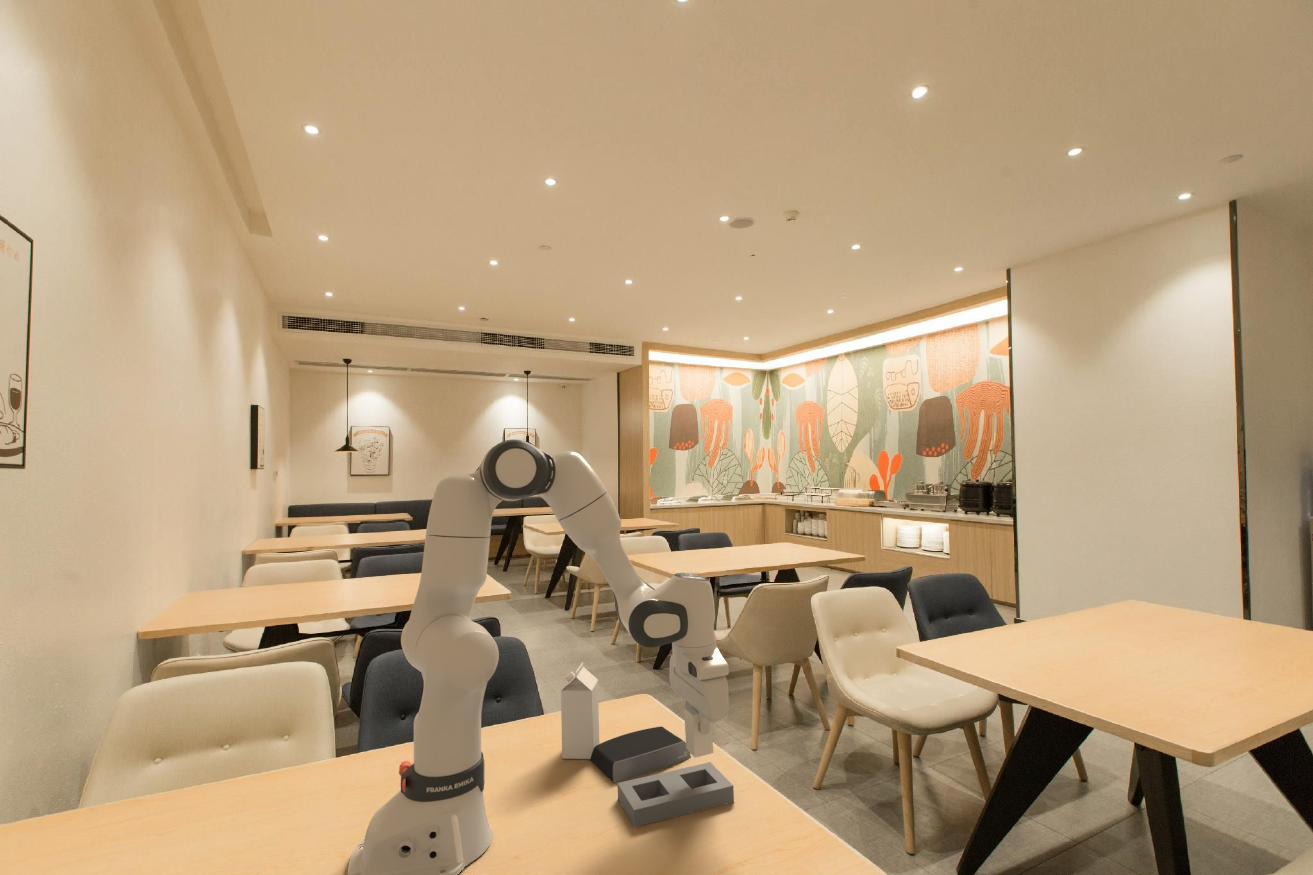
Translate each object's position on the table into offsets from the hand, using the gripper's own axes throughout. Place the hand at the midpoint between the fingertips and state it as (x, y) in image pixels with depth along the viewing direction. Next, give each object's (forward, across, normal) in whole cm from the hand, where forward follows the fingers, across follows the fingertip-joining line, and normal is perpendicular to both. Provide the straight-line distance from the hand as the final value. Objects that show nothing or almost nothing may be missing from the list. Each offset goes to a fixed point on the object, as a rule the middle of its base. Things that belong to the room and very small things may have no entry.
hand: (698, 727), depth 115 cm
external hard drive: (+13, -18, -6) cm, 23 cm away
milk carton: (+13, -27, -17) cm, 34 cm away
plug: (+5, 0, 0) cm, 5 cm away
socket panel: (+13, 0, -6) cm, 14 cm away
